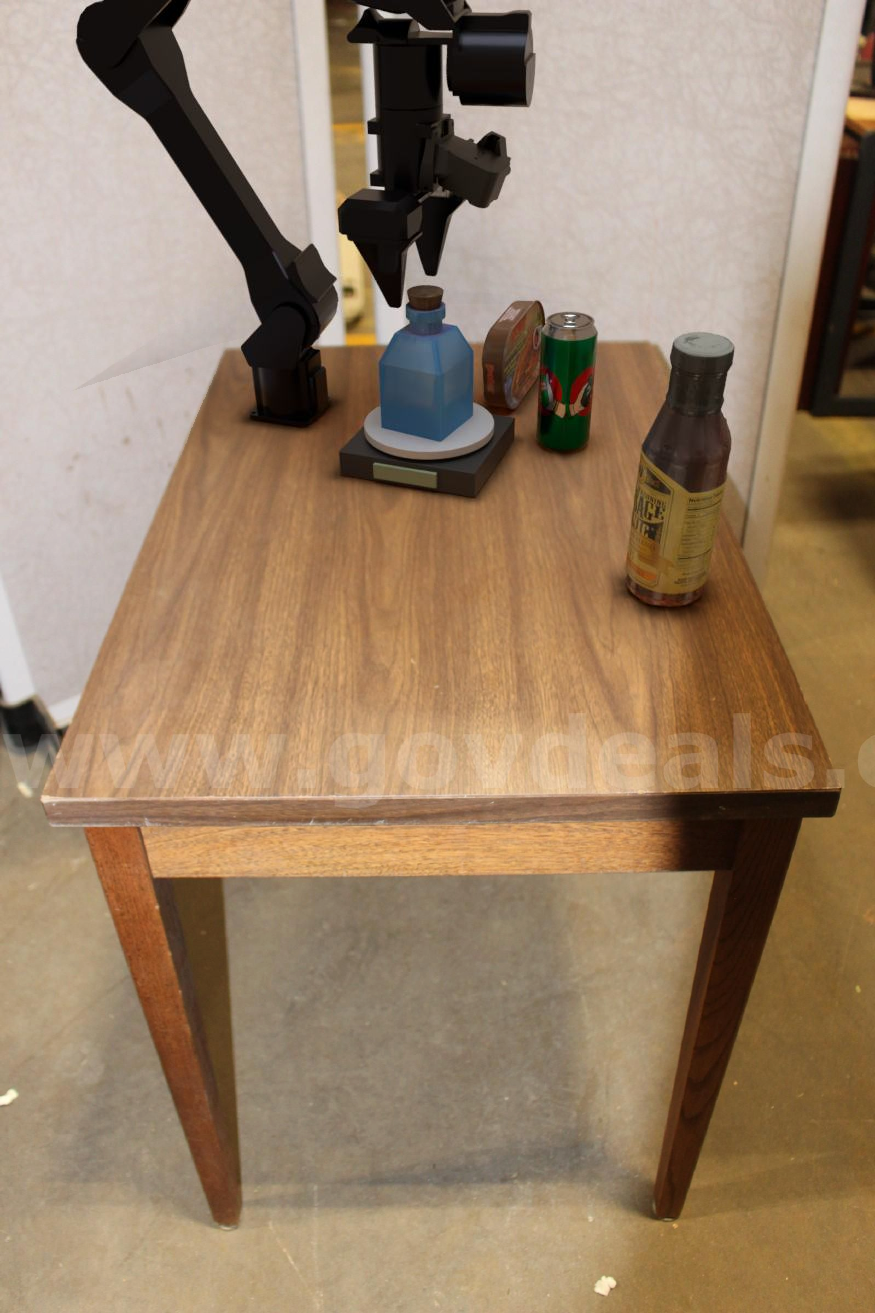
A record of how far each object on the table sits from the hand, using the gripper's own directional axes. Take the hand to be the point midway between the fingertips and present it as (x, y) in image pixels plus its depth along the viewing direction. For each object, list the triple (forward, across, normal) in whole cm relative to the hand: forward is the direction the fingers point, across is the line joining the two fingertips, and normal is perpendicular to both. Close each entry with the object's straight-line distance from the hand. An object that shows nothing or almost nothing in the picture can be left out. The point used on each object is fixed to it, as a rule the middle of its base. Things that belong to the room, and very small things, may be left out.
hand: (413, 290), depth 99 cm
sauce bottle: (+13, -22, -29) cm, 39 cm away
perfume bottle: (+10, -7, -4) cm, 12 cm away
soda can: (+13, 0, -15) cm, 20 cm away
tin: (+13, +10, -7) cm, 18 cm away
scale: (+13, -7, -4) cm, 15 cm away
